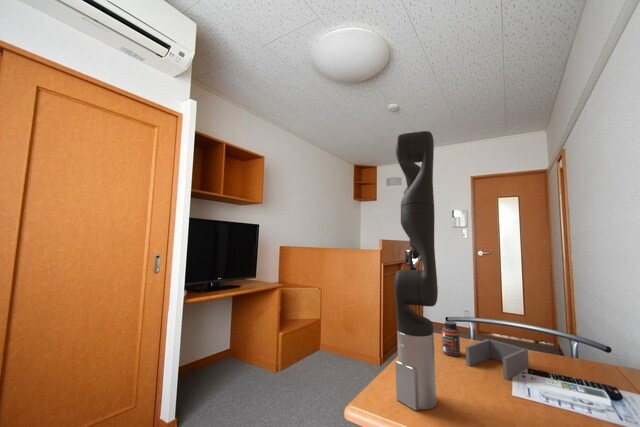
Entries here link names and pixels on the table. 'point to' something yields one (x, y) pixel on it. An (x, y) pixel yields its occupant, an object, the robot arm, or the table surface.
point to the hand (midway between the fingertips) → (420, 276)
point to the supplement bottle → (451, 339)
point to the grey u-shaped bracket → (499, 356)
